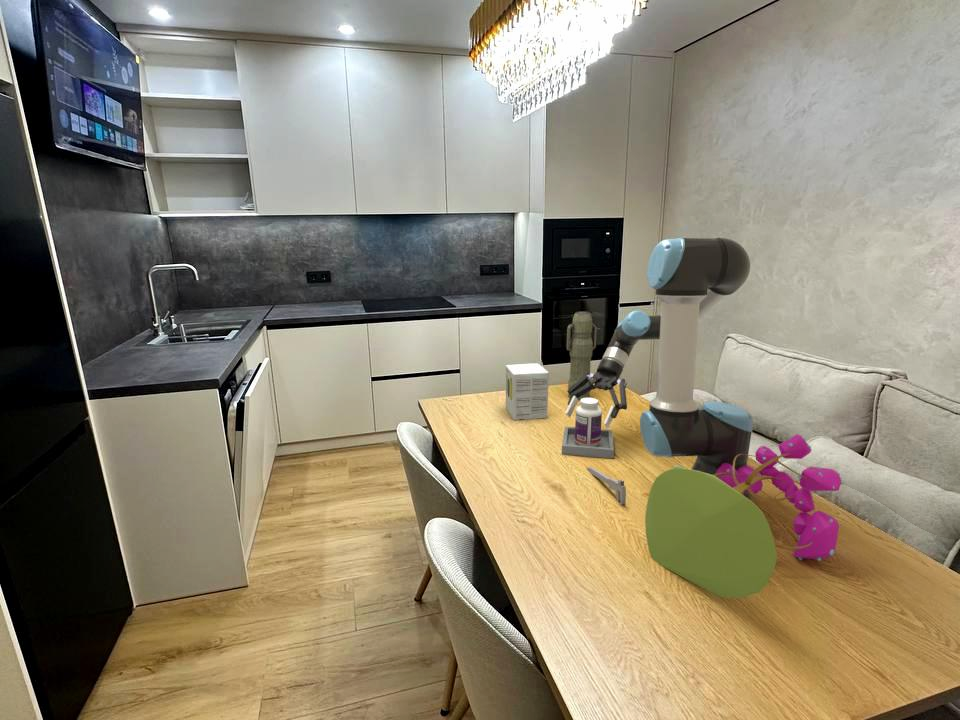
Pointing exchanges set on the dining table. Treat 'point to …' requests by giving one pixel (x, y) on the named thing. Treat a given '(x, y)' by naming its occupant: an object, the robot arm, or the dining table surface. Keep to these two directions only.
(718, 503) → the fallen flowering cactus
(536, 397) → the supplement box
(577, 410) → the pill bottle
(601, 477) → the caliper
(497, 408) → the dining table surface
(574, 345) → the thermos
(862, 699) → the dining table surface
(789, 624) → the dining table surface
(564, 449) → the tray
